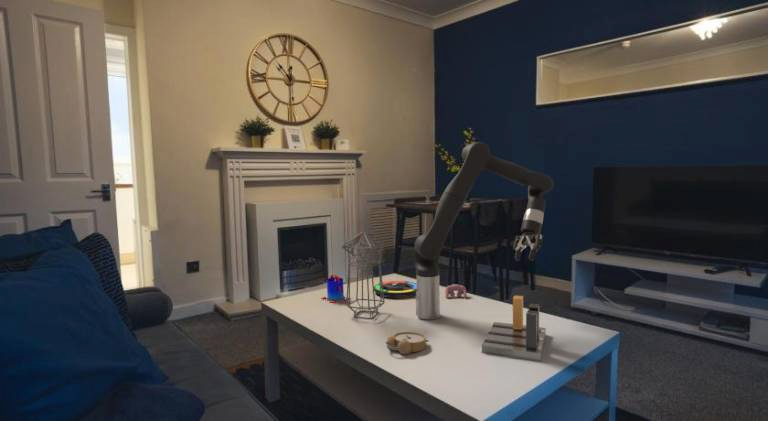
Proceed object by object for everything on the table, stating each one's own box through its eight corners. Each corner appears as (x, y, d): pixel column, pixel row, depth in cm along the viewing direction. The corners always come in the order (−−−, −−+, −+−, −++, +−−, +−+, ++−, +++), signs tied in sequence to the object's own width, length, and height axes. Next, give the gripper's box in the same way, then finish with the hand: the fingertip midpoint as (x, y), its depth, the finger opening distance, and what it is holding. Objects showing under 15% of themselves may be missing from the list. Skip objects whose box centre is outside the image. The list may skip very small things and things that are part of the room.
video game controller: (466, 299, 202) (465, 285, 205) (467, 298, 198) (466, 283, 200) (445, 299, 203) (444, 285, 206) (445, 298, 199) (445, 283, 201)
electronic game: (405, 302, 196) (405, 292, 196) (364, 295, 209) (364, 286, 209) (428, 290, 216) (428, 280, 215) (389, 284, 228) (389, 275, 228)
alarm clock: (433, 338, 146) (403, 342, 136) (431, 352, 146) (401, 358, 136) (409, 329, 154) (378, 333, 144) (407, 343, 154) (377, 348, 144)
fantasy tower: (318, 299, 204) (317, 274, 203) (340, 294, 212) (339, 270, 210) (331, 304, 195) (330, 278, 194) (353, 299, 202) (352, 274, 201)
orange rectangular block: (523, 326, 154) (523, 296, 153) (521, 330, 151) (521, 299, 150) (514, 325, 156) (514, 295, 155) (512, 328, 152) (512, 298, 151)
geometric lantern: (341, 318, 176) (338, 233, 174) (357, 308, 190) (355, 229, 188) (376, 322, 170) (373, 234, 168) (391, 311, 184) (388, 229, 182)
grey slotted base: (545, 334, 153) (546, 297, 152) (540, 361, 133) (540, 317, 131) (494, 328, 161) (494, 292, 160) (481, 352, 140) (481, 311, 139)
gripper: (514, 220, 181) (505, 257, 177) (537, 217, 168) (528, 256, 164) (527, 226, 183) (519, 263, 180) (552, 223, 170) (543, 263, 167)
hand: (523, 260), depth 172 cm, fingers open, 8 cm apart
